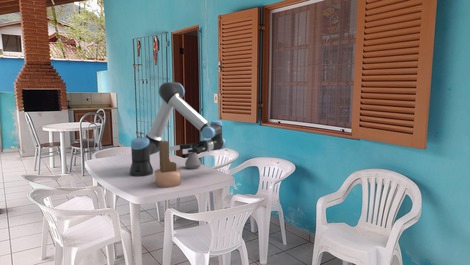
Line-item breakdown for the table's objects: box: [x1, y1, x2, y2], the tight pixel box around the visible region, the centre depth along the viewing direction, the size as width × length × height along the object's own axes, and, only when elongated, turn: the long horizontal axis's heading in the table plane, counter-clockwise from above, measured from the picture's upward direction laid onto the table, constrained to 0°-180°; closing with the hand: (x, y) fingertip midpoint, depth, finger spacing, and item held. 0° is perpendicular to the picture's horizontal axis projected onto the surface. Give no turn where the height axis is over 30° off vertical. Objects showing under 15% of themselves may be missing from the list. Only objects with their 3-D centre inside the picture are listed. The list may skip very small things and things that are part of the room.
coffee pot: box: [184, 152, 202, 170], centre depth 246 cm, size 21×12×15 cm, turn 30°
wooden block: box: [158, 140, 178, 173], centre depth 201 cm, size 9×4×18 cm, turn 123°
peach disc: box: [154, 168, 182, 188], centre depth 203 cm, size 15×15×8 cm
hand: (176, 150), depth 205 cm, fingers open, 13 cm apart
